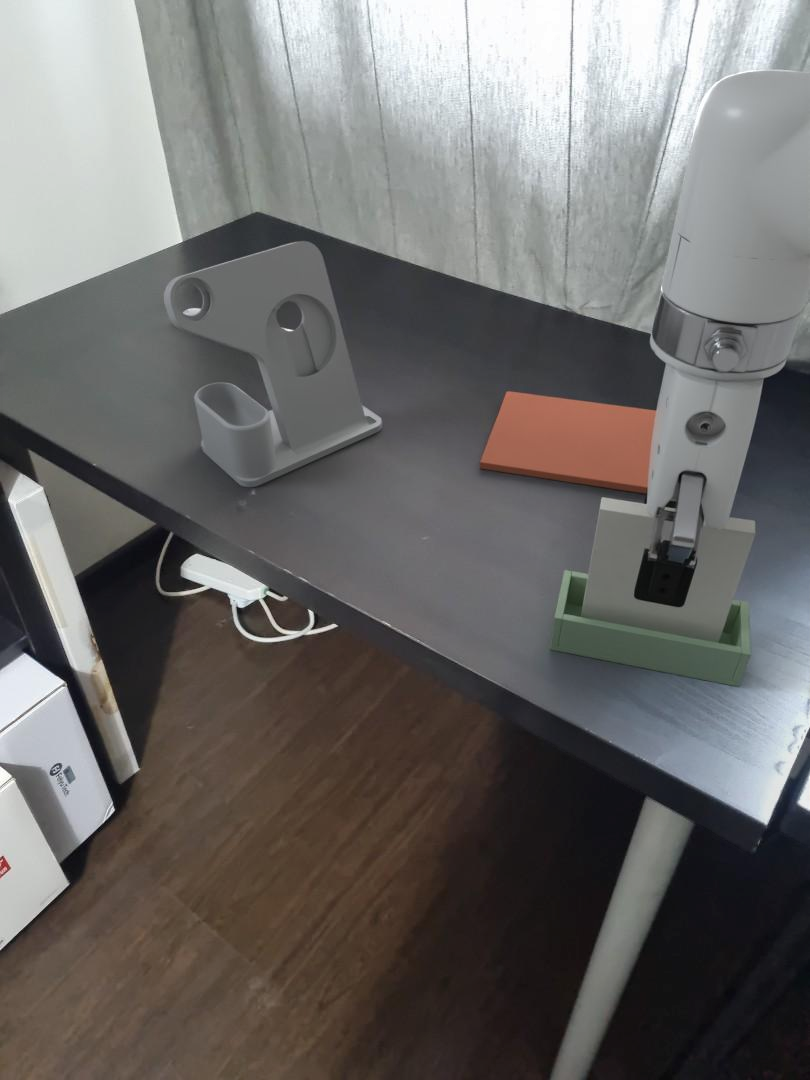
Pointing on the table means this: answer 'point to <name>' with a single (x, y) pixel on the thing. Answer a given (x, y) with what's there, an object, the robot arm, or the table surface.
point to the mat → (571, 441)
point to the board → (619, 562)
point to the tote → (651, 640)
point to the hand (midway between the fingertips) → (661, 552)
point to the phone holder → (274, 364)
